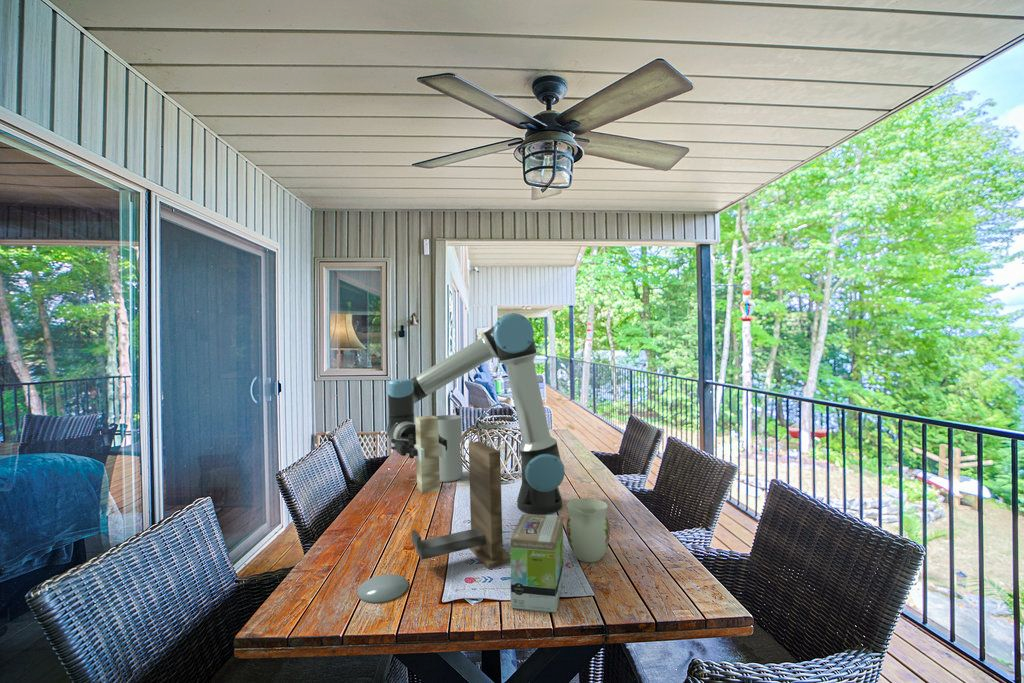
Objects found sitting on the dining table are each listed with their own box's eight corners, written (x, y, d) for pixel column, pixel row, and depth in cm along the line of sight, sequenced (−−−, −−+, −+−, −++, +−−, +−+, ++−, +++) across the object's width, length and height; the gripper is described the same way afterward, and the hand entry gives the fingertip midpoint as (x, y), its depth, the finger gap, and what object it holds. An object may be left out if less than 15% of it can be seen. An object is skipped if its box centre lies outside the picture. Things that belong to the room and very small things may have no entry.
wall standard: (488, 538, 130) (485, 439, 130) (513, 562, 116) (510, 450, 116) (407, 557, 120) (404, 450, 120) (424, 586, 106) (421, 464, 106)
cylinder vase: (460, 482, 184) (459, 419, 184) (429, 482, 184) (427, 420, 184) (464, 473, 196) (462, 414, 196) (435, 473, 196) (433, 415, 196)
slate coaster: (408, 574, 111) (408, 571, 111) (407, 598, 101) (407, 596, 101) (360, 580, 109) (360, 577, 109) (354, 606, 98) (354, 603, 98)
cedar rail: (434, 485, 118) (432, 415, 118) (439, 490, 113) (438, 417, 113) (417, 488, 116) (415, 417, 116) (422, 493, 111) (420, 419, 111)
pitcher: (606, 539, 127) (605, 490, 127) (613, 572, 110) (612, 514, 110) (566, 539, 129) (565, 489, 129) (567, 571, 111) (565, 514, 111)
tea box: (558, 614, 94) (556, 541, 94) (509, 609, 96) (507, 538, 96) (564, 576, 108) (562, 513, 108) (522, 573, 110) (520, 511, 110)
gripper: (439, 446, 134) (468, 464, 114) (378, 454, 127) (396, 475, 106) (439, 420, 134) (467, 434, 114) (377, 427, 127) (396, 442, 106)
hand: (433, 454), depth 110 cm, fingers closed on cedar rail, 4 cm apart
